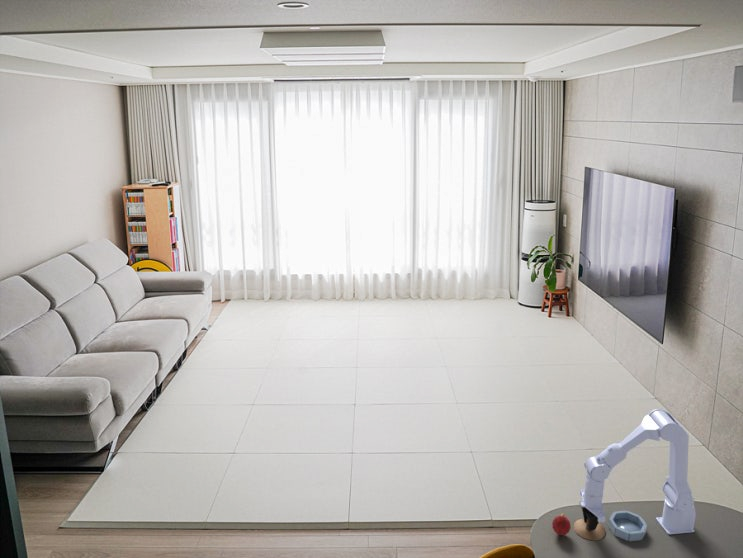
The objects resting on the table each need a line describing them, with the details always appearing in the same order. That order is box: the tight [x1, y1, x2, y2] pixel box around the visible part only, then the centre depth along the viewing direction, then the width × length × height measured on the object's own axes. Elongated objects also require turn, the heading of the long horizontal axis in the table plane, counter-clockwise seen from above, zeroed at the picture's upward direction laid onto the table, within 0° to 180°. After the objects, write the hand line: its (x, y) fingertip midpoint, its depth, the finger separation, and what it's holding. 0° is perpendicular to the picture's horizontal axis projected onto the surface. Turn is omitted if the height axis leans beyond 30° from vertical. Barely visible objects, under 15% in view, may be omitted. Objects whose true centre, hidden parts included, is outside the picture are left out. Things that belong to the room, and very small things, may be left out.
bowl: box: [608, 510, 648, 542], centre depth 217 cm, size 11×11×3 cm
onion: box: [551, 513, 571, 536], centre depth 214 cm, size 6×6×8 cm
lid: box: [573, 518, 606, 541], centre depth 217 cm, size 10×10×4 cm
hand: (589, 525), depth 217 cm, fingers open, 3 cm apart
